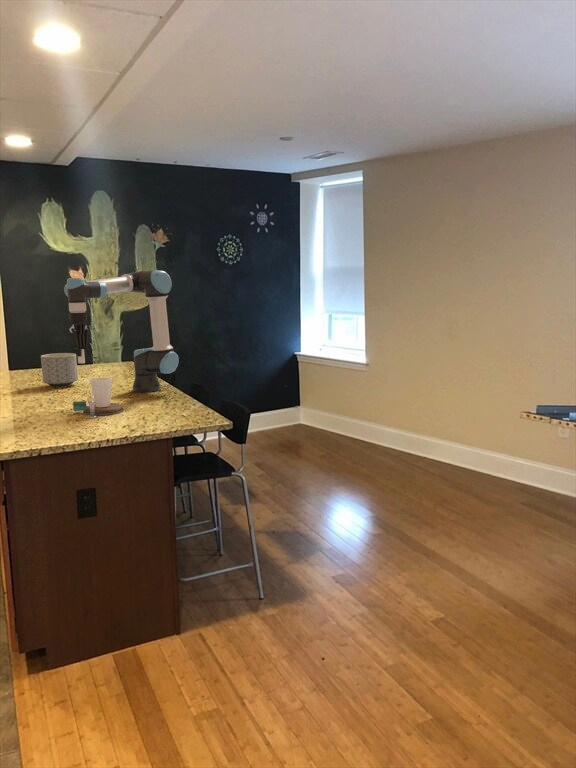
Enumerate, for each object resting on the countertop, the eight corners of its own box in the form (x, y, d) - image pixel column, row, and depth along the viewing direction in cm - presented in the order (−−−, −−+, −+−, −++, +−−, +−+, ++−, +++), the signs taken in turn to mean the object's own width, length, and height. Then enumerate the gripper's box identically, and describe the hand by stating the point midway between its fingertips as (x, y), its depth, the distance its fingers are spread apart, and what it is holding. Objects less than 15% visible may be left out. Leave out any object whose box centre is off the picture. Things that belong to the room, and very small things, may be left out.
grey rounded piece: (96, 416, 272) (95, 397, 271) (97, 418, 269) (95, 398, 267) (88, 417, 271) (87, 397, 269) (88, 418, 268) (87, 399, 266)
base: (122, 406, 293) (121, 404, 293) (124, 413, 276) (124, 412, 276) (82, 409, 287) (82, 407, 287) (83, 417, 270) (83, 415, 270)
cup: (102, 403, 288) (101, 376, 286) (118, 405, 283) (117, 378, 281) (86, 407, 279) (84, 379, 277) (103, 409, 275) (101, 381, 272)
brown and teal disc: (77, 407, 288) (76, 398, 287) (123, 405, 291) (123, 396, 290) (70, 415, 271) (70, 405, 270) (120, 412, 275) (119, 403, 274)
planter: (85, 384, 355) (83, 354, 352) (57, 390, 339) (55, 357, 336) (64, 382, 365) (61, 352, 362) (36, 387, 349) (33, 356, 346)
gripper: (79, 311, 285) (83, 361, 289) (61, 312, 273) (65, 364, 277) (93, 311, 283) (97, 361, 287) (75, 312, 270) (79, 365, 275)
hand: (81, 363), depth 282 cm, fingers closed
